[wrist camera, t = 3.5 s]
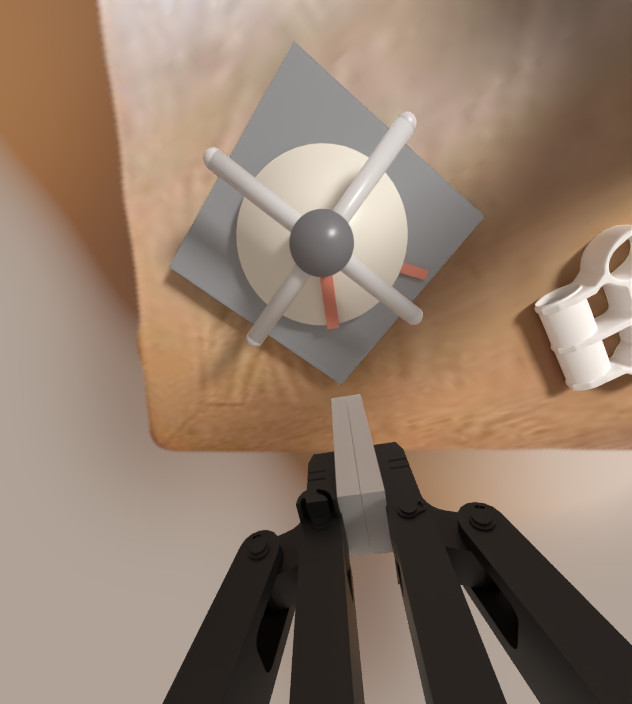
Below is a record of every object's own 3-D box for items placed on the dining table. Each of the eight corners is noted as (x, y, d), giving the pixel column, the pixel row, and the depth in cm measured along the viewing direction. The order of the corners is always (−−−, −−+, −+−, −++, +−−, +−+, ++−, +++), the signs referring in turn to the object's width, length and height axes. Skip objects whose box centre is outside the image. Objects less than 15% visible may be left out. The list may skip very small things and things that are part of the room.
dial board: (295, 54, 27) (293, 38, 25) (475, 217, 32) (487, 216, 29) (177, 265, 34) (167, 267, 31) (340, 377, 38) (341, 386, 36)
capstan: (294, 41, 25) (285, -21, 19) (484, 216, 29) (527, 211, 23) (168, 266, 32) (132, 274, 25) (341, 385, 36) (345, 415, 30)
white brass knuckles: (516, 278, 34) (659, 196, 31) (569, 402, 39) (697, 342, 36) (536, 283, 31) (697, 192, 28) (591, 417, 36) (732, 352, 33)
